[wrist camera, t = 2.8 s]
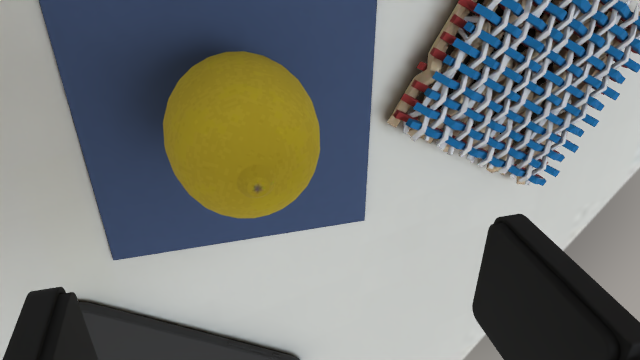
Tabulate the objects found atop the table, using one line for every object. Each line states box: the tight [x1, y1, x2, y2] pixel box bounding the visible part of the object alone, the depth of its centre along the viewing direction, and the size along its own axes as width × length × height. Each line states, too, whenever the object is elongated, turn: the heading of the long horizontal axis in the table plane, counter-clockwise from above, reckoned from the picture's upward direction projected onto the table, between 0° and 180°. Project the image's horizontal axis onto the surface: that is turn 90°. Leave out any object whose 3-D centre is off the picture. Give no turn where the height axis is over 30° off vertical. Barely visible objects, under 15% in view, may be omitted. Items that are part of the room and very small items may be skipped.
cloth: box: [39, 0, 377, 260], centre depth 21 cm, size 18×13×1 cm
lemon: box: [163, 51, 320, 218], centre depth 18 cm, size 6×6×8 cm
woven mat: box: [387, 0, 640, 186], centre depth 23 cm, size 10×11×2 cm
